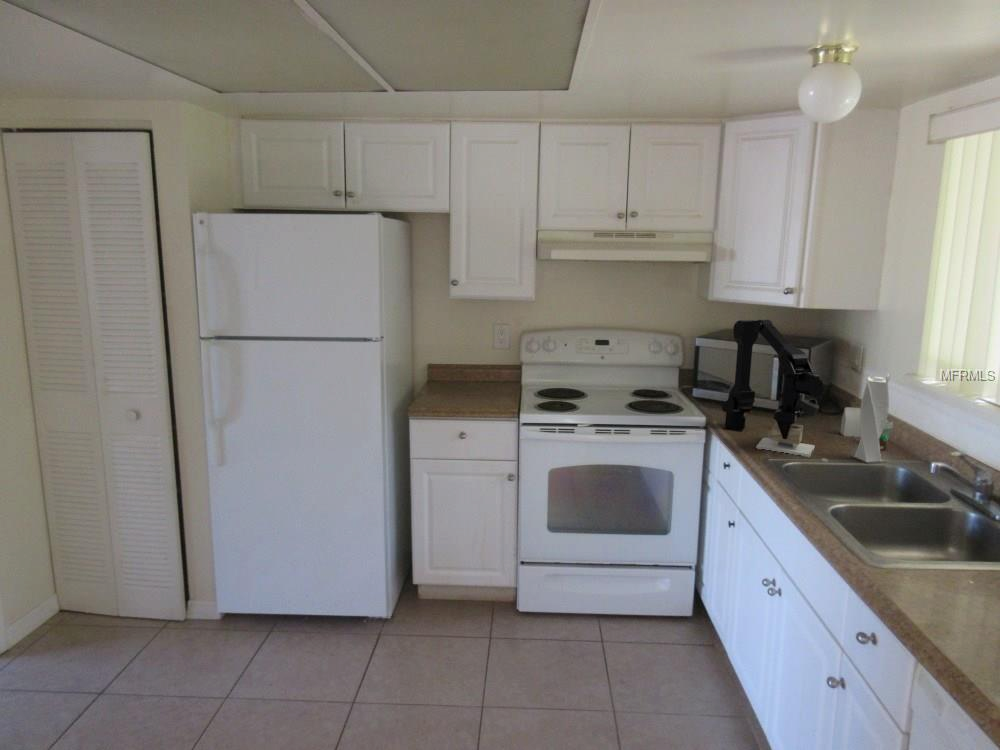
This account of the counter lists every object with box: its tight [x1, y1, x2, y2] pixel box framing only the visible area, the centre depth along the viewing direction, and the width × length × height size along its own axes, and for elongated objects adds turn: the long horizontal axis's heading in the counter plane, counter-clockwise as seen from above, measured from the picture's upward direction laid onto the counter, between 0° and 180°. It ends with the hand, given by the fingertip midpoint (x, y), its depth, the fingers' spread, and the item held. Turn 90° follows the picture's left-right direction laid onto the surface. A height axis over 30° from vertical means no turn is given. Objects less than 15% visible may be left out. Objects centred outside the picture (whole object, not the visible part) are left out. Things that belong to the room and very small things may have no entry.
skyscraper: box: [850, 373, 890, 464], centre depth 204 cm, size 8×8×28 cm
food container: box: [879, 417, 894, 452], centre depth 220 cm, size 12×6×10 cm, turn 168°
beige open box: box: [770, 421, 804, 445], centre depth 217 cm, size 6×8×5 cm
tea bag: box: [839, 406, 861, 438], centre depth 235 cm, size 4×7×10 cm, turn 80°
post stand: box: [756, 437, 816, 458], centre depth 217 cm, size 16×12×6 cm
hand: (786, 436), depth 217 cm, fingers closed on beige open box, 6 cm apart
